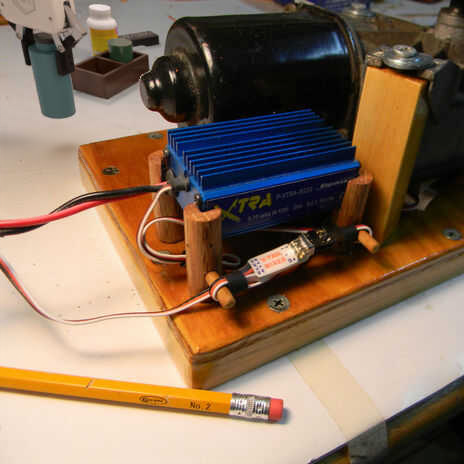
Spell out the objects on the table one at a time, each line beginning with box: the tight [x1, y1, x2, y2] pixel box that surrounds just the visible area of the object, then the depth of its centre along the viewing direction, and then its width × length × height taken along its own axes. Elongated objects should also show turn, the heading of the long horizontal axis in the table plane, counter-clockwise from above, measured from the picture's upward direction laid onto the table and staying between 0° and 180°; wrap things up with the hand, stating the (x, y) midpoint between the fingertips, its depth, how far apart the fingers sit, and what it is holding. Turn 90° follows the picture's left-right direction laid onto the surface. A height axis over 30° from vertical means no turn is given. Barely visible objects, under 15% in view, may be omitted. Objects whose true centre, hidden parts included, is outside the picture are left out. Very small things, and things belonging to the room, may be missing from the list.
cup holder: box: [70, 49, 151, 100], centre depth 107 cm, size 9×16×6 cm, turn 162°
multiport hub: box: [118, 30, 160, 48], centre depth 129 cm, size 4×11×2 cm, turn 140°
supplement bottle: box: [86, 3, 119, 57], centre depth 114 cm, size 7×7×13 cm
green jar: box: [107, 38, 134, 64], centre depth 109 cm, size 5×5×8 cm
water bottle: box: [28, 31, 77, 120], centre depth 78 cm, size 5×5×13 cm
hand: (50, 67), depth 77 cm, fingers closed on water bottle, 5 cm apart
